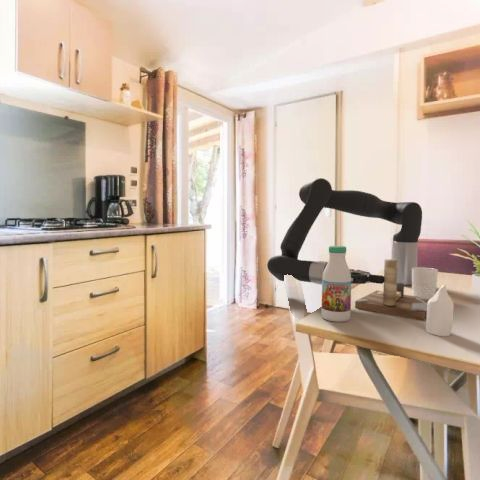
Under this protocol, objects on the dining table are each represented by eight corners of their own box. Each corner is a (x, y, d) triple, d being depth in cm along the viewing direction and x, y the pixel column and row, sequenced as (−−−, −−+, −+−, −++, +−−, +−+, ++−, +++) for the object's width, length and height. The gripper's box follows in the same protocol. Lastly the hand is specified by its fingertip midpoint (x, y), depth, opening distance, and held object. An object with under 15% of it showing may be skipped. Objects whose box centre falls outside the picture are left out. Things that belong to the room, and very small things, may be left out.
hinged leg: (394, 294, 113) (395, 254, 111) (405, 295, 110) (407, 255, 109) (381, 304, 100) (383, 260, 99) (394, 306, 98) (396, 261, 97)
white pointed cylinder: (426, 280, 87) (451, 282, 85) (423, 327, 88) (448, 329, 86) (430, 285, 81) (457, 287, 79) (427, 334, 82) (454, 338, 80)
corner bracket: (406, 306, 99) (406, 299, 99) (421, 306, 99) (421, 300, 99) (411, 310, 95) (412, 303, 95) (427, 311, 95) (428, 304, 94)
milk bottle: (317, 314, 98) (319, 244, 97) (343, 313, 99) (345, 244, 97) (326, 322, 91) (328, 247, 89) (354, 322, 91) (357, 247, 90)
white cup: (440, 301, 113) (441, 271, 112) (414, 300, 114) (415, 270, 114) (431, 295, 121) (433, 267, 120) (407, 294, 122) (409, 266, 121)
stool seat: (376, 296, 120) (376, 289, 119) (438, 305, 107) (438, 299, 107) (355, 307, 105) (355, 300, 105) (423, 320, 93) (423, 312, 93)
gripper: (319, 264, 104) (379, 270, 94) (333, 259, 115) (388, 264, 105) (318, 288, 105) (377, 296, 95) (332, 281, 116) (387, 288, 106)
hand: (383, 279), depth 100 cm, fingers closed
